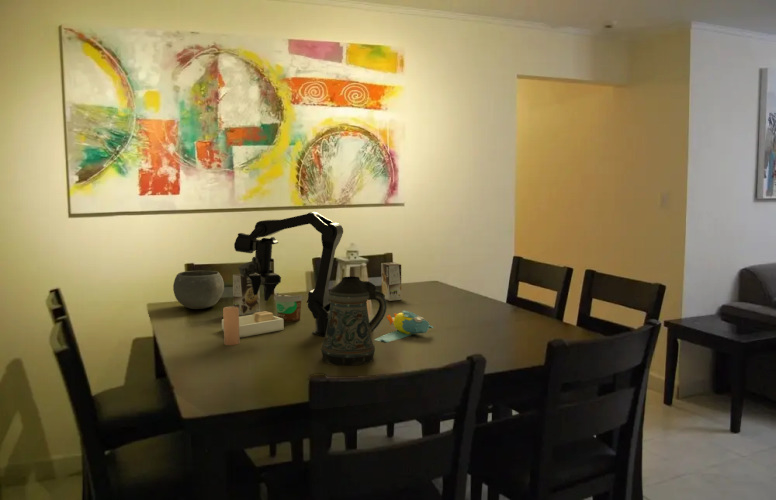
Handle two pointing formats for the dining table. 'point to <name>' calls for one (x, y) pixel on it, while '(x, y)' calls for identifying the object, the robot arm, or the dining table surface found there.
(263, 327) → the tote
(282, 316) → the food container
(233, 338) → the tan upright cylinder
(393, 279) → the coffee box
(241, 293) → the coffee box
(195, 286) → the bowl
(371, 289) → the beer stein
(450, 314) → the dining table surface
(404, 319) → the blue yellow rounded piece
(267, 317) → the maple block
